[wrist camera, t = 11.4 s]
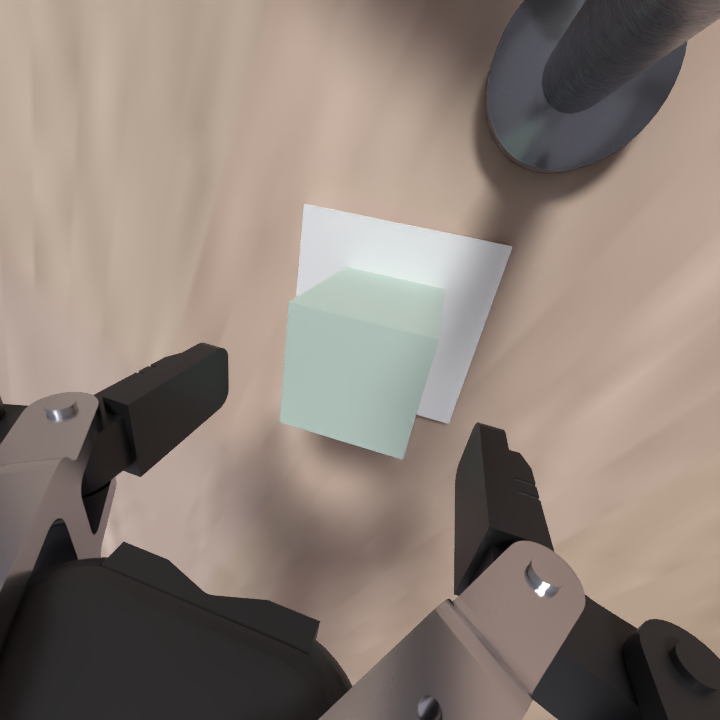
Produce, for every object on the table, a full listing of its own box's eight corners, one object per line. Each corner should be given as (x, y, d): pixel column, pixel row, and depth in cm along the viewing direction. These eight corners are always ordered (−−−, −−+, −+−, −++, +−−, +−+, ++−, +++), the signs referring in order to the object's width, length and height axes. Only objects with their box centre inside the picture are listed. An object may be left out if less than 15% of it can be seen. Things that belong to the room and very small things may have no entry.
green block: (444, 288, 17) (439, 339, 10) (419, 376, 19) (402, 459, 13) (347, 266, 17) (288, 301, 11) (334, 353, 20) (279, 422, 13)
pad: (511, 245, 16) (512, 246, 15) (448, 419, 20) (448, 423, 20) (307, 203, 17) (304, 203, 17) (291, 375, 21) (288, 378, 21)
